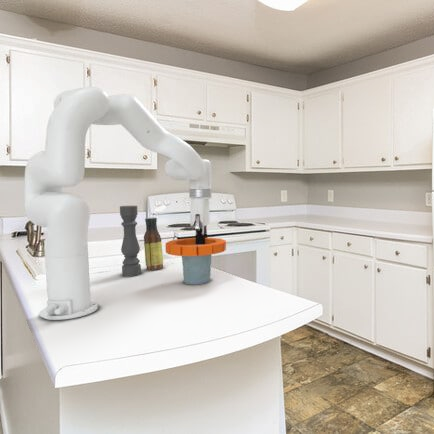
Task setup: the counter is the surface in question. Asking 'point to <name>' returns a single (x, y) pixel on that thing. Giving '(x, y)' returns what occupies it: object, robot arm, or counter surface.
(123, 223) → the candle holder
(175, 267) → the counter surface
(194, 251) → the ring
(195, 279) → the blue-grey plant pot
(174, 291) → the counter surface
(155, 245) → the sauce bottle
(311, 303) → the counter surface
